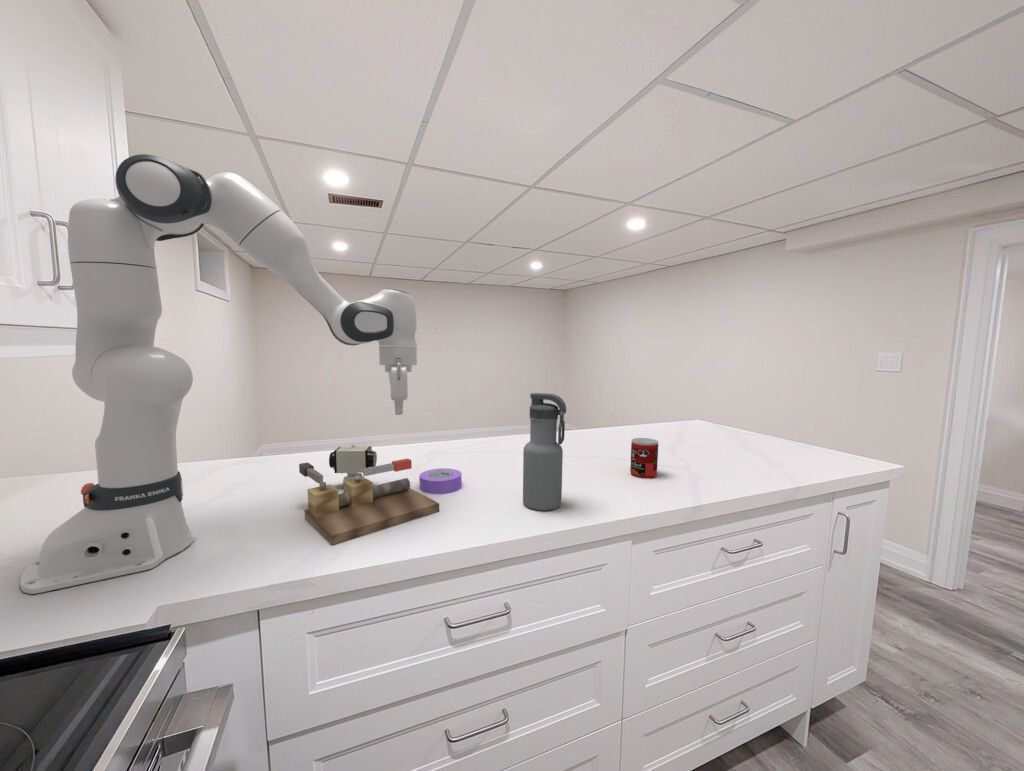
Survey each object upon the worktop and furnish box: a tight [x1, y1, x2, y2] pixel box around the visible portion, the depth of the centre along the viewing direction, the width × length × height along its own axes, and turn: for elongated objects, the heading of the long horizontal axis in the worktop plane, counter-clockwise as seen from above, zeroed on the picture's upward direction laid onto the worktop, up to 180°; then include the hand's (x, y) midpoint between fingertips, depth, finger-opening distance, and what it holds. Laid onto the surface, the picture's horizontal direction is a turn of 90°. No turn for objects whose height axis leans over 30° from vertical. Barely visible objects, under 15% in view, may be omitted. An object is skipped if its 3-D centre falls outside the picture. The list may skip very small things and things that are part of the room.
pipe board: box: [298, 462, 440, 546], centre depth 99 cm, size 25×27×10 cm
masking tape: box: [418, 467, 463, 495], centre depth 115 cm, size 12×12×4 cm
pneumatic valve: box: [328, 443, 378, 482], centre depth 114 cm, size 6×12×12 cm, turn 96°
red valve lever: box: [355, 458, 412, 482], centre depth 102 cm, size 2×14×3 cm, turn 131°
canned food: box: [629, 437, 659, 479], centre depth 127 cm, size 8×8×11 cm
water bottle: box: [522, 392, 567, 511], centre depth 102 cm, size 10×10×28 cm
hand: (398, 414), depth 101 cm, fingers closed
